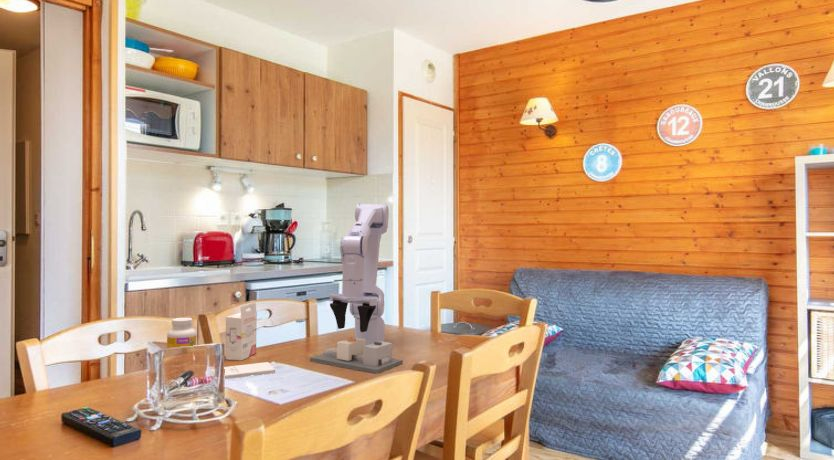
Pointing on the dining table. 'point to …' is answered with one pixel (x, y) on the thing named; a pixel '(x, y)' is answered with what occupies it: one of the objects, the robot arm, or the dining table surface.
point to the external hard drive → (248, 370)
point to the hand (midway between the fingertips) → (352, 329)
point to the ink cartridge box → (241, 333)
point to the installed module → (376, 352)
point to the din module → (350, 348)
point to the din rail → (354, 356)
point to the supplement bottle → (181, 333)
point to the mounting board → (355, 363)
